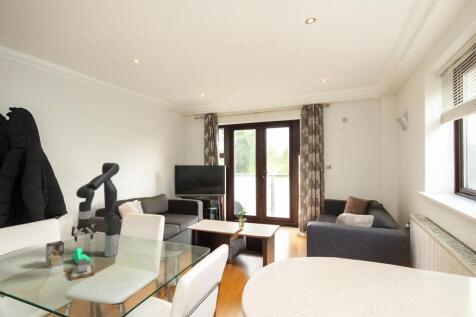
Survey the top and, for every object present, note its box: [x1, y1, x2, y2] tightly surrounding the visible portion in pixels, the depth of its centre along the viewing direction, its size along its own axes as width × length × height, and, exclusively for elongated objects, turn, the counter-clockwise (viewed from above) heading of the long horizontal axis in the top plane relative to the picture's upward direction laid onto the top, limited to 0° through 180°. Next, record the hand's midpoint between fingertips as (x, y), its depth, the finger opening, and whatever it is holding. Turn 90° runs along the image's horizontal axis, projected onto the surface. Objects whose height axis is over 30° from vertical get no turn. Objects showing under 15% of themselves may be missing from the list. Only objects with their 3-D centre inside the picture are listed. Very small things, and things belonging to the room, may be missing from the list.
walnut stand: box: [69, 264, 95, 282], centre depth 165 cm, size 13×13×2 cm
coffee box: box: [45, 240, 65, 269], centre depth 173 cm, size 9×6×16 cm
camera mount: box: [72, 247, 91, 265], centre depth 182 cm, size 12×8×10 cm, turn 55°
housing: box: [77, 258, 89, 274], centre depth 165 cm, size 5×8×6 cm, turn 37°
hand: (83, 240), depth 164 cm, fingers open, 8 cm apart
